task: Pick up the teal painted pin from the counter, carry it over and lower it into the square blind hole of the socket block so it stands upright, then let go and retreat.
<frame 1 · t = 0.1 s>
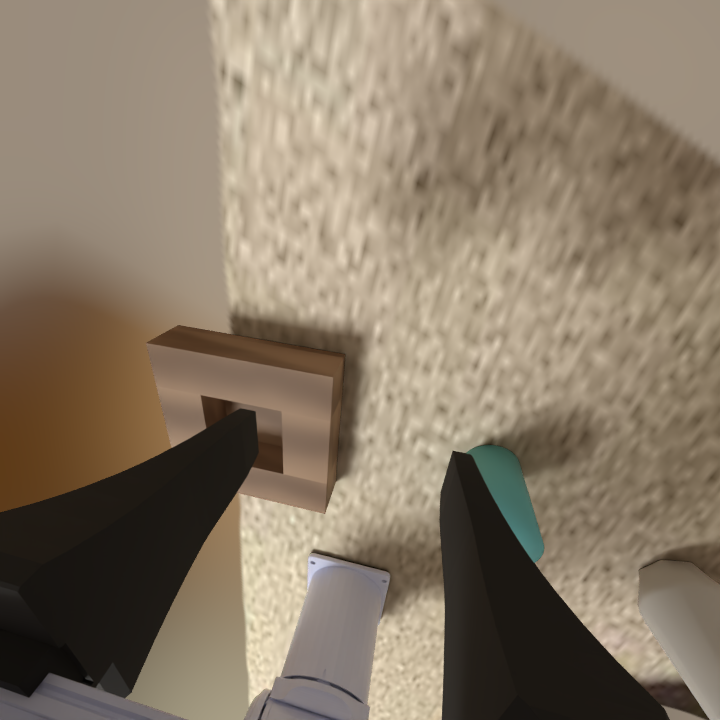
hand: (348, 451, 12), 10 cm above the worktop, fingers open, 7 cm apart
socket block: (263, 410, 25), on the worktop
salt shaker: (667, 573, 25), on the worktop
teal pin: (489, 466, 24), on the worktop
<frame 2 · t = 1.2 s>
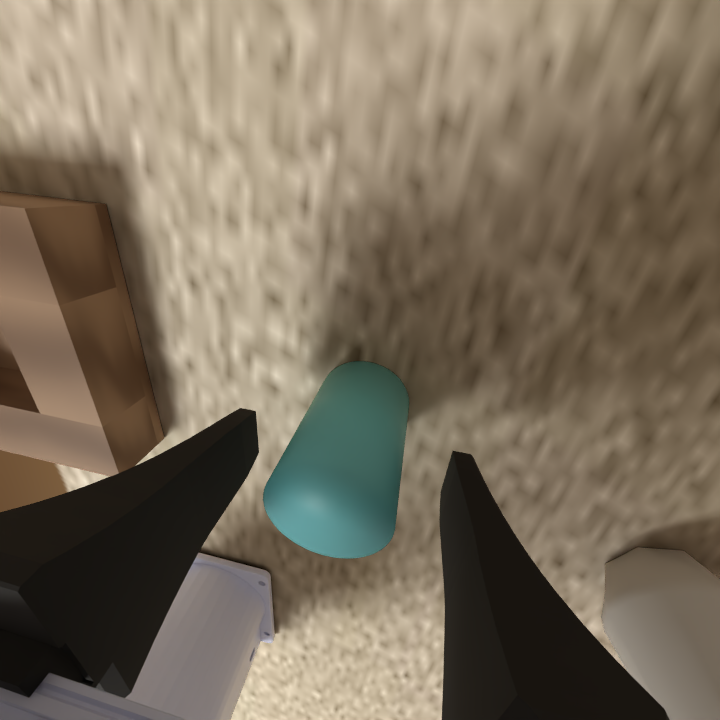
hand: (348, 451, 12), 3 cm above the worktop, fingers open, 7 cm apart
socket block: (33, 322, 17), on the worktop
salt shaker: (648, 569, 17), on the worktop
teal pin: (364, 400, 15), on the worktop
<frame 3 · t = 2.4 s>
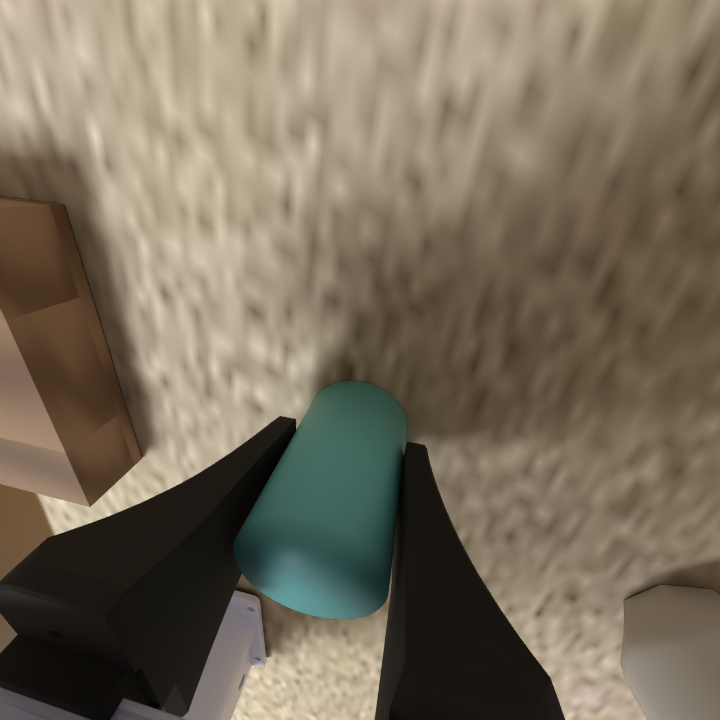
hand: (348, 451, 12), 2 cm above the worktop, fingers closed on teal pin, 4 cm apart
salt shaker: (671, 607, 15), on the worktop
teal pin: (357, 423, 14), on the worktop, touching gripper
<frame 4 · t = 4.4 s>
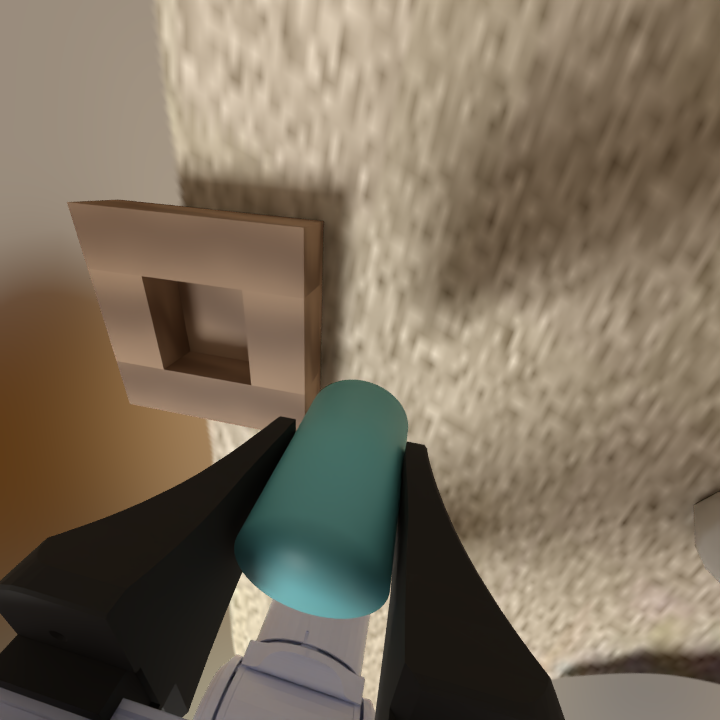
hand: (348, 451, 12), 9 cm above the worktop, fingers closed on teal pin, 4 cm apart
socket block: (228, 314, 21), on the worktop
teal pin: (358, 422, 13), point 7 cm above the worktop, touching gripper
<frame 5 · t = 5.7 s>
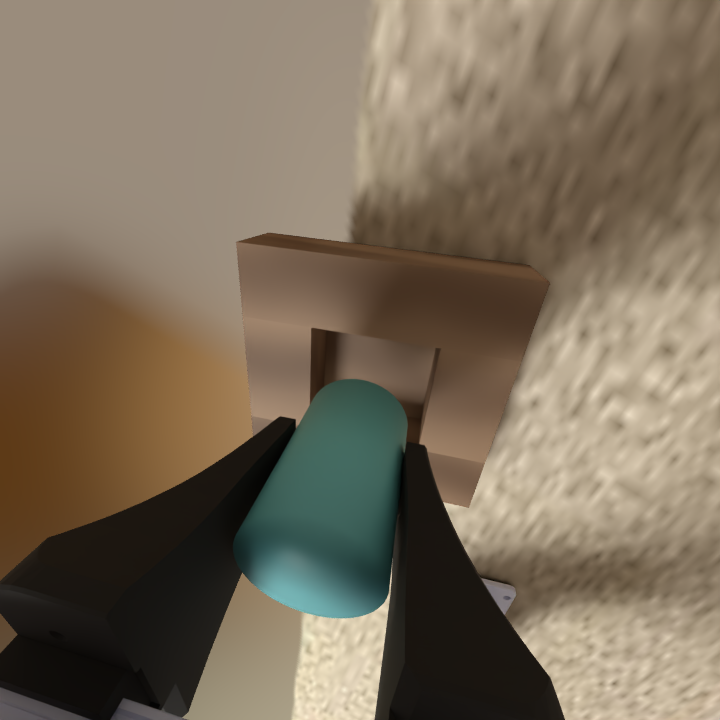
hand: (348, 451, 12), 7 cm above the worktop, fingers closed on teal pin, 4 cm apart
socket block: (377, 362, 18), on the worktop
teal pin: (357, 421, 13), point 5 cm above the worktop, touching gripper
when the fingers open (4 cm above the worktop, at t = 6.7 s): teal pin drops 2 cm, resting on socket block.
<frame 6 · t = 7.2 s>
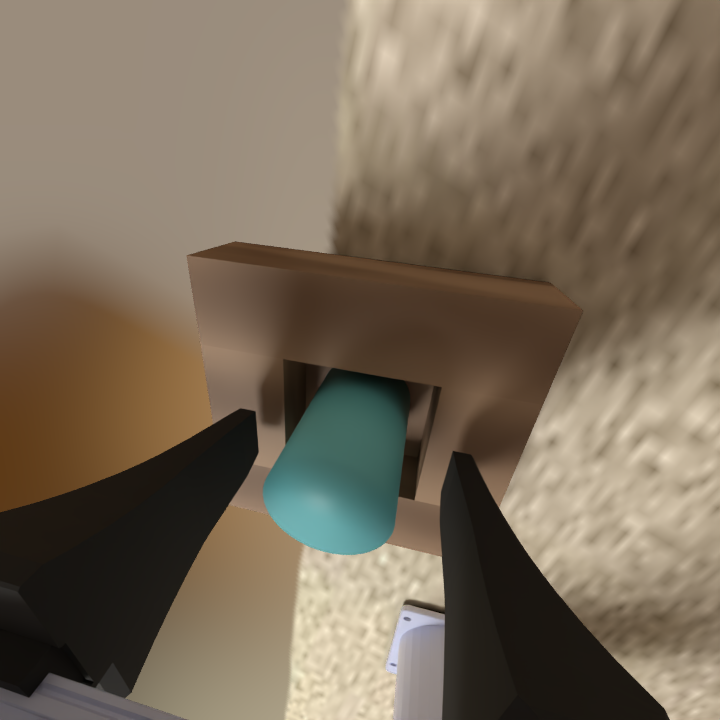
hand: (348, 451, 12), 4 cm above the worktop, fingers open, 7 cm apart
socket block: (367, 392, 15), on the worktop
teal pin: (365, 397, 15), point 1 cm above the worktop, touching socket block
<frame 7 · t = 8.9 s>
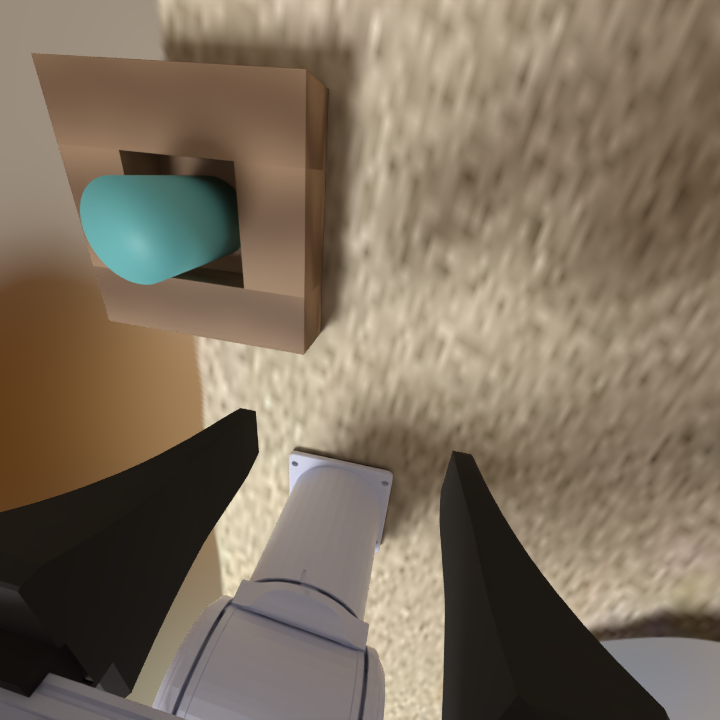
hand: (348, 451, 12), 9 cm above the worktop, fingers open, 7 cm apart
socket block: (220, 217, 19), on the worktop
teal pin: (214, 217, 18), point 1 cm above the worktop, touching socket block
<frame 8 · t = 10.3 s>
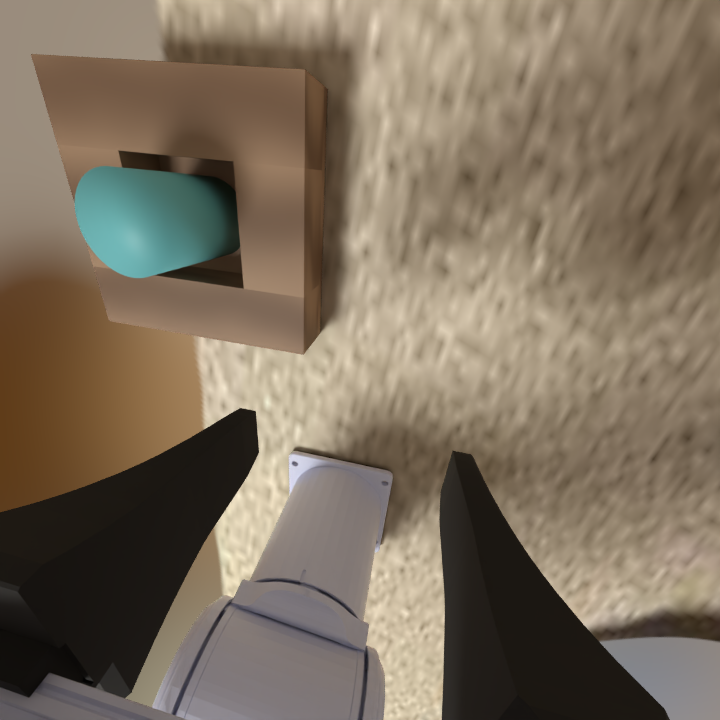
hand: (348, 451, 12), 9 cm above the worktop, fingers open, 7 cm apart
socket block: (219, 218, 19), on the worktop
teal pin: (213, 217, 18), point 1 cm above the worktop, touching socket block
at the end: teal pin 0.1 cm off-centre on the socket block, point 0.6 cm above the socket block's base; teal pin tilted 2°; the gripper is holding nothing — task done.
